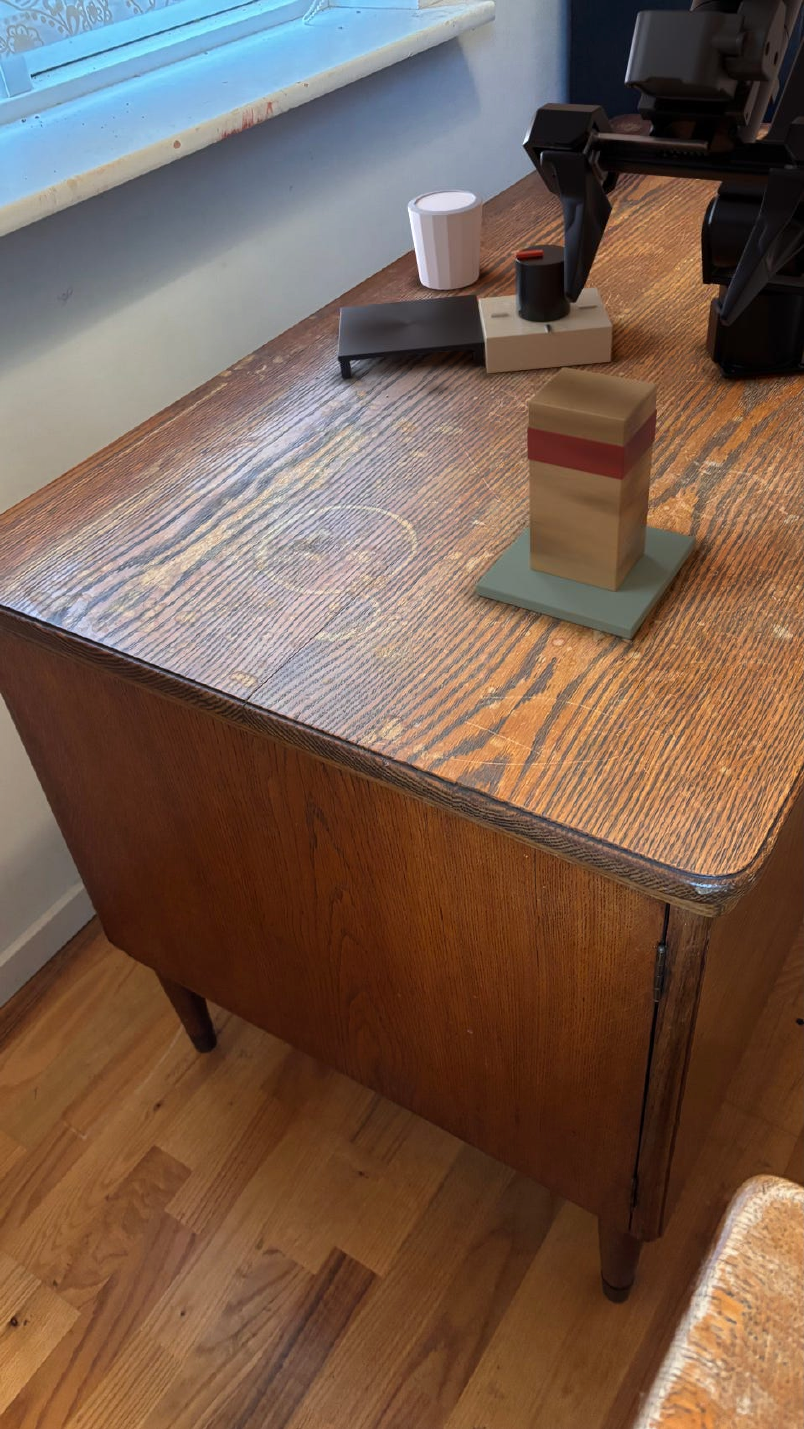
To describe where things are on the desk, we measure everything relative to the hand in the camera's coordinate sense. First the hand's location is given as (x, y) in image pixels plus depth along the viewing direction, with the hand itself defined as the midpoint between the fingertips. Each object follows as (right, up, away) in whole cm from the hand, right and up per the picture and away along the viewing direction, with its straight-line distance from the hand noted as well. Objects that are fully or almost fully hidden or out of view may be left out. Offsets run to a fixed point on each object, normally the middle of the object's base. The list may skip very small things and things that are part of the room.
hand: (644, 310), depth 59 cm
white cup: (-9, +19, +42) cm, 47 cm away
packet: (-2, -13, +5) cm, 14 cm away
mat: (-2, -14, +5) cm, 15 cm away
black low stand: (-13, +9, +31) cm, 35 cm away
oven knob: (-2, +10, +27) cm, 29 cm away
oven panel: (-2, +8, +29) cm, 30 cm away
